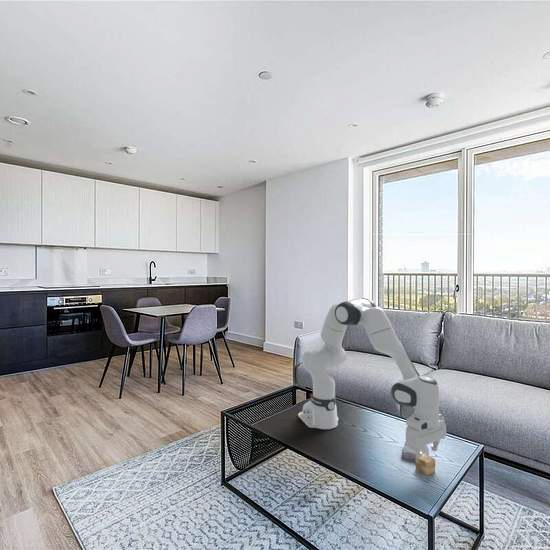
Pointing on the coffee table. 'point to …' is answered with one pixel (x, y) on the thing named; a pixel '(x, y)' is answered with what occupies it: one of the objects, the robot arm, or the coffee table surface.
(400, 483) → the coffee table surface
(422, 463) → the oak cube
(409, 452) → the stone block
